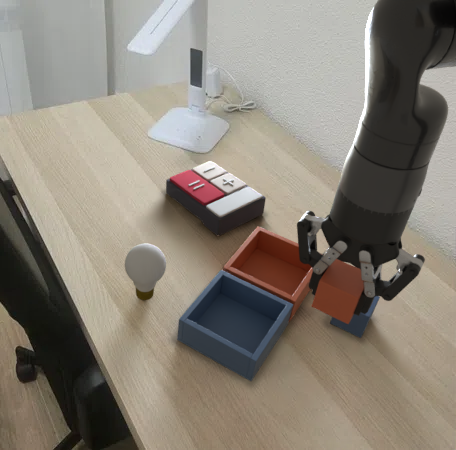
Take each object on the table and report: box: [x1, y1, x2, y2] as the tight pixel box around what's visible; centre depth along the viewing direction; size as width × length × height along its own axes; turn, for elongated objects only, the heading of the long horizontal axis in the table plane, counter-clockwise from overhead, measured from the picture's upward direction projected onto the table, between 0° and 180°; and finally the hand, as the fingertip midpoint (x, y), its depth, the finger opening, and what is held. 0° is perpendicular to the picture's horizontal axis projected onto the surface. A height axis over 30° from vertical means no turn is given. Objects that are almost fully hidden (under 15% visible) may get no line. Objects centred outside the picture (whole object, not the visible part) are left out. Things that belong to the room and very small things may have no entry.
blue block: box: [329, 296, 381, 339], centre depth 79 cm, size 5×5×5 cm
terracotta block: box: [311, 259, 364, 324], centre depth 65 cm, size 5×5×5 cm
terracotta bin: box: [222, 226, 322, 323], centre depth 85 cm, size 12×12×4 cm
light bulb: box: [124, 242, 167, 301], centre depth 80 cm, size 6×6×10 cm
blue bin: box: [176, 269, 293, 382], centre depth 77 cm, size 12×12×4 cm
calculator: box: [165, 160, 266, 237], centre depth 99 cm, size 11×4×15 cm
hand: (337, 300), depth 66 cm, fingers closed on terracotta block, 4 cm apart
